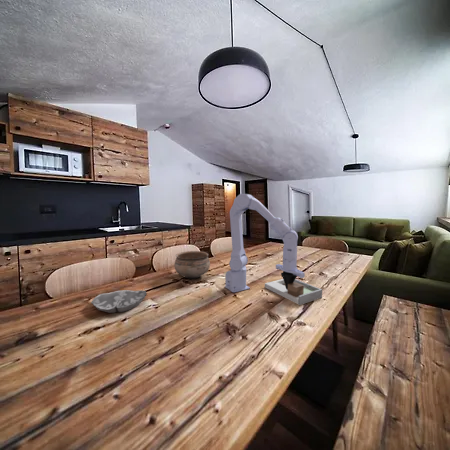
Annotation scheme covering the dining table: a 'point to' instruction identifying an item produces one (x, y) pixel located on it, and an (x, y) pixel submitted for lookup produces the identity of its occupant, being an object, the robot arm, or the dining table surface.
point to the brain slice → (118, 300)
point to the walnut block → (295, 289)
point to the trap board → (308, 295)
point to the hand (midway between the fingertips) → (288, 289)
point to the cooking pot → (192, 264)
